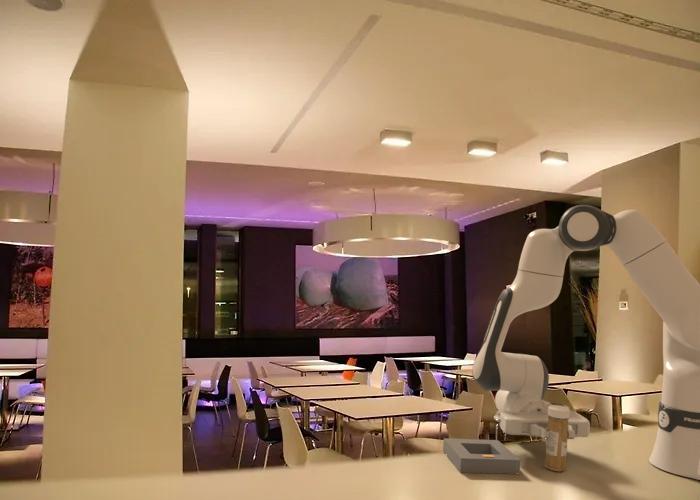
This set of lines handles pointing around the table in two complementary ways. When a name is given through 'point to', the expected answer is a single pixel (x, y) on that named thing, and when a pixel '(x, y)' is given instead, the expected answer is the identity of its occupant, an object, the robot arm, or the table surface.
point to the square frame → (480, 456)
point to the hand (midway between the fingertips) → (559, 435)
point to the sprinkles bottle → (557, 437)
